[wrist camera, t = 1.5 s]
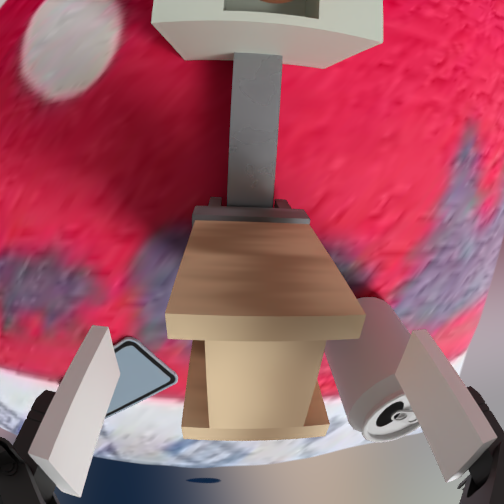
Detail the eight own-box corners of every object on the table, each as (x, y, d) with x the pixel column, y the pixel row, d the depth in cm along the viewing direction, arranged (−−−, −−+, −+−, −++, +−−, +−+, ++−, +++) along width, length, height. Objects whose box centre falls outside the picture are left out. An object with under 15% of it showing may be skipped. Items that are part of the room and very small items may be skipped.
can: (335, 286, 27) (386, 385, 17) (402, 297, 29) (465, 381, 18) (308, 350, 30) (337, 452, 19) (372, 356, 31) (414, 444, 20)
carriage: (200, 283, 25) (177, 438, 12) (199, 196, 23) (155, 313, 9) (287, 284, 26) (331, 435, 13) (296, 200, 23) (374, 314, 10)
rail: (225, 277, 26) (224, 296, 24) (234, 60, 20) (234, 52, 17) (261, 278, 27) (265, 297, 24) (276, 63, 20) (282, 55, 17)
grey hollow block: (184, 60, 19) (150, 23, 10) (189, 0, 17) (164, -63, 8) (324, 68, 20) (382, 42, 11) (326, 10, 18) (380, -42, 9)
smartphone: (182, 380, 31) (101, 421, 34) (183, 374, 32) (102, 416, 34) (129, 335, 28) (56, 386, 31) (131, 330, 29) (58, 382, 32)
